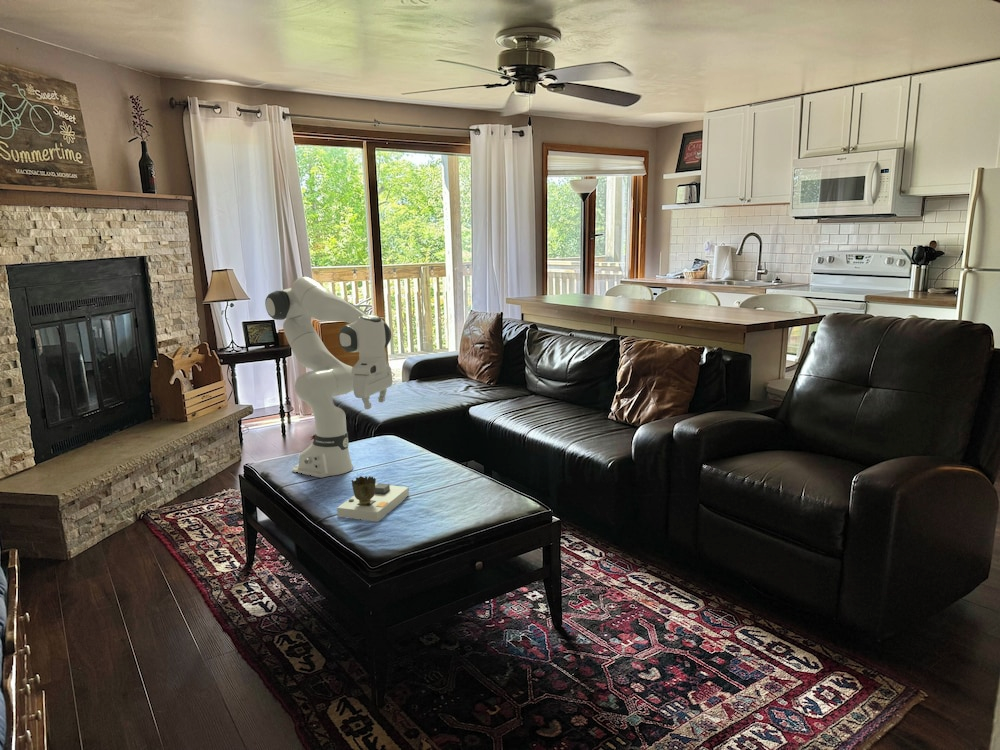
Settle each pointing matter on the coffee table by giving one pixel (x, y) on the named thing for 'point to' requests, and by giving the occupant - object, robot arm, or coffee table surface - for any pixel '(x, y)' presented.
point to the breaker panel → (374, 505)
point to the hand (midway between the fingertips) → (375, 405)
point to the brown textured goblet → (364, 489)
